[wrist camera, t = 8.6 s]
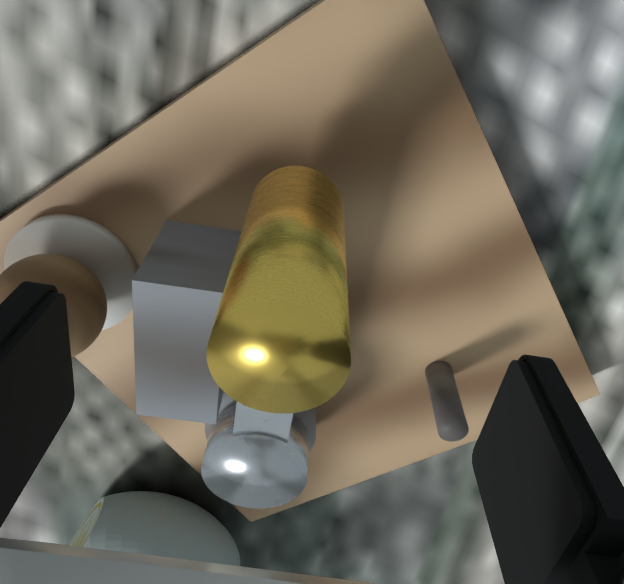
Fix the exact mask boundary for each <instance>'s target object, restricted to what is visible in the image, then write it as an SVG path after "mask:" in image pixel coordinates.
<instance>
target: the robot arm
mask: <svg viewBox="0 0 624 584" xmlns="http://www.w3.org/2000/svg"><path fill="white" fill-rule="evenodd" d="M73 401H74V382H73V371H72V360H71V349H70V338H69V327H68V316H67V305H66V297H65V295H64V294H62V293H58V290H57V288H56V286H54V285H50V284H43V283H36V282H29V281H24V282H22V283H21V284H20V285H19V286H18V287H17V288H16V289H15V290H14V291H13V292H12V293H11V294H10V295H9V296H8V297H7V298H6V299H5V300H4V301H3V302H2V303H1V304H0V527H1V526H2V524H3V522H4V521H5V519H6V517H7V516H8V514H9V512H10V511H11V509H12V507H13V506H14V504H15V502H16V501H17V499H18V497H19V496H20V494H21V492H22V491H23V489H24V487H25V486H26V484H27V482H28V481H29V479H30V477H31V476H32V474H33V472H34V471H35V469H36V467H37V465H38V464H39V462H40V460H41V459H42V457H43V455H44V454H45V452H46V450H47V449H48V447H49V445H50V444H51V442H52V440H53V439H54V437H55V435H56V434H57V432H58V430H59V429H60V427H61V425H62V424H63V422H64V420H65V419H66V417H67V415H68V414H69V412H70V410H71V408H72V405H73ZM472 464H473V469H474V473H475V476H476V480H477V484H478V487H479V491H480V494H481V498H482V502H483V505H484V509H485V513H486V516H487V520H488V524H489V527H490V531H491V535H492V538H493V542H494V546H495V549H496V553H497V557H498V560H499V564H500V568H501V571H502V575H503V579H504V582H505V584H624V487H623V485H622V483H621V481H620V480H619V478H618V476H617V474H616V472H615V471H614V469H613V467H612V465H611V463H610V462H609V460H608V458H607V456H606V454H605V452H604V451H603V449H602V447H601V445H600V443H599V442H598V440H597V438H596V436H595V434H594V433H593V431H592V429H591V427H590V425H589V423H588V422H587V420H586V418H585V416H584V414H583V413H582V411H581V409H580V407H579V405H578V404H577V402H576V400H575V398H574V396H573V394H572V393H571V391H570V389H569V387H568V385H567V384H566V382H565V380H564V378H563V376H562V375H561V373H560V371H559V369H558V367H557V365H556V364H555V362H554V361H553V360H552V359H551V358H546V357H539V356H532V355H522V356H521V357H520V358H519V360H512V361H511V362H510V364H509V366H508V368H507V371H506V373H505V376H504V378H503V380H502V383H501V385H500V387H499V390H498V392H497V395H496V397H495V399H494V402H493V404H492V406H491V409H490V411H489V413H488V416H487V418H486V421H485V423H484V425H483V428H482V430H481V432H480V435H479V437H478V440H477V442H476V444H475V447H474V449H473V454H472ZM0 584H374V583H366V582H359V581H351V580H344V579H336V578H328V577H320V576H312V575H305V574H297V573H289V572H281V571H273V570H265V569H257V568H249V567H242V566H234V565H226V564H218V563H210V562H202V561H194V560H186V559H178V558H170V557H161V556H153V555H145V554H137V553H128V552H120V551H112V550H104V549H95V548H87V547H79V546H71V545H62V544H54V543H45V542H36V541H26V540H17V539H7V538H0Z"/></svg>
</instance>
